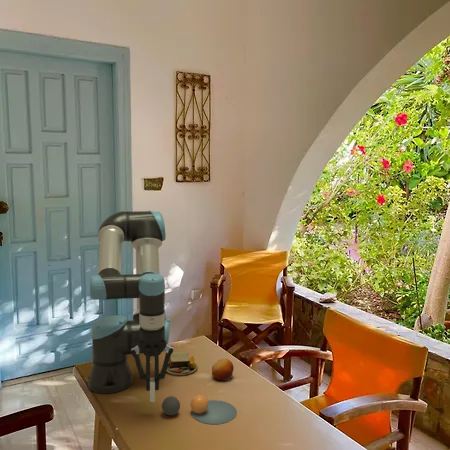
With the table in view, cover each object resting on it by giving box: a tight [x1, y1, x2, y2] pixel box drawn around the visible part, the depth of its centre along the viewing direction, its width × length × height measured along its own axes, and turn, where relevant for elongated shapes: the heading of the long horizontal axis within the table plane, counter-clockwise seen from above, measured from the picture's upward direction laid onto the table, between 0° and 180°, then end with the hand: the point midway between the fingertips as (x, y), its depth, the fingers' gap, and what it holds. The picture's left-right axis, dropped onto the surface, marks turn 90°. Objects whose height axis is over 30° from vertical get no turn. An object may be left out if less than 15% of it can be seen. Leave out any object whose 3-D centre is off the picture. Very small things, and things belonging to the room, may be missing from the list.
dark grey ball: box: [161, 395, 181, 416], centre depth 144 cm, size 6×6×6 cm
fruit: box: [211, 358, 235, 382], centre depth 169 cm, size 8×8×8 cm
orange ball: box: [189, 394, 209, 414], centre depth 145 cm, size 6×6×6 cm
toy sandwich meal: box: [166, 351, 198, 377], centre depth 176 cm, size 12×14×5 cm
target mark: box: [191, 399, 238, 425], centre depth 145 cm, size 14×14×1 cm
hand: (152, 399), depth 143 cm, fingers closed
